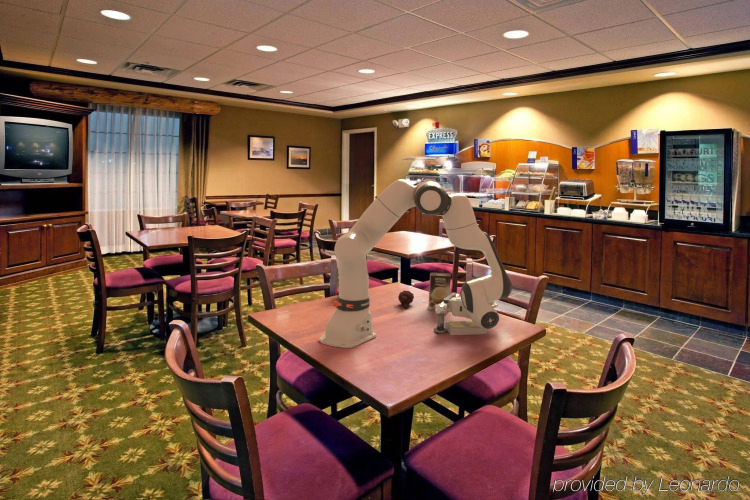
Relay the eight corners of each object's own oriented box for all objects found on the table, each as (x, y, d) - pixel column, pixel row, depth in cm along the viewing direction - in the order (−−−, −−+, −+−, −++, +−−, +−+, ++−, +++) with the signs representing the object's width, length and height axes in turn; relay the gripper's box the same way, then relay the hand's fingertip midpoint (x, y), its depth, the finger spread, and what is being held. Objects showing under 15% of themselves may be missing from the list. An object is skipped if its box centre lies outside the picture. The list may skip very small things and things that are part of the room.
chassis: (451, 335, 168) (451, 328, 167) (444, 327, 176) (444, 320, 176) (486, 334, 170) (486, 327, 169) (478, 326, 178) (478, 319, 178)
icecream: (398, 286, 213) (394, 297, 199) (413, 284, 212) (410, 294, 198) (401, 300, 215) (398, 312, 201) (416, 297, 213) (414, 309, 199)
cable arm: (444, 314, 167) (445, 305, 167) (433, 313, 169) (433, 303, 169) (461, 300, 187) (461, 291, 186) (451, 299, 189) (451, 290, 188)
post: (444, 334, 168) (445, 315, 167) (431, 332, 171) (432, 313, 169) (448, 330, 173) (449, 312, 171) (436, 328, 175) (436, 310, 174)
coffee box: (428, 310, 198) (429, 275, 195) (428, 306, 204) (429, 272, 202) (449, 311, 197) (450, 276, 195) (448, 307, 204) (450, 273, 201)
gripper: (500, 299, 173) (486, 289, 187) (449, 300, 171) (439, 291, 184) (499, 314, 175) (485, 304, 188) (449, 316, 172) (439, 305, 185)
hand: (462, 297), depth 186 cm, fingers closed
